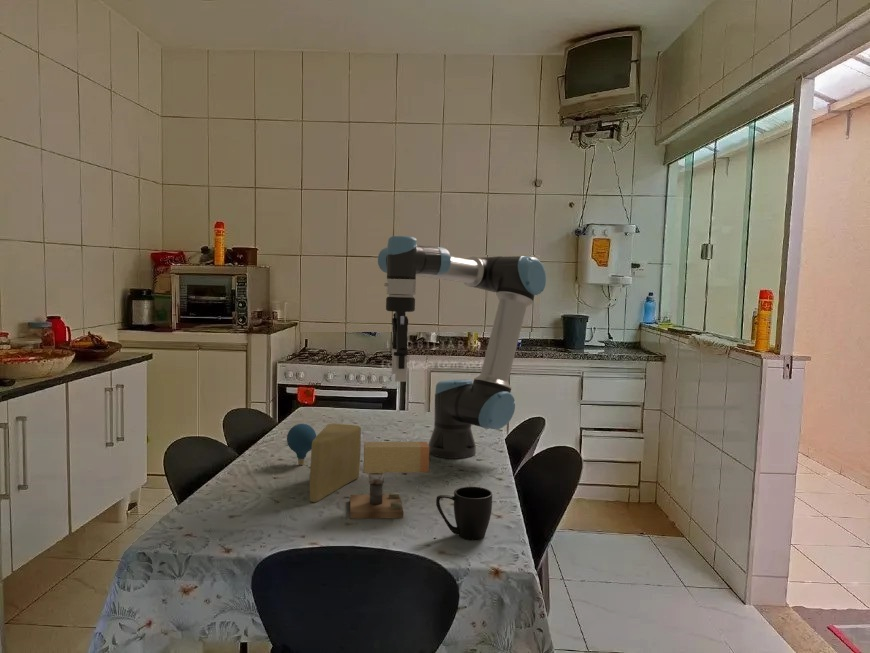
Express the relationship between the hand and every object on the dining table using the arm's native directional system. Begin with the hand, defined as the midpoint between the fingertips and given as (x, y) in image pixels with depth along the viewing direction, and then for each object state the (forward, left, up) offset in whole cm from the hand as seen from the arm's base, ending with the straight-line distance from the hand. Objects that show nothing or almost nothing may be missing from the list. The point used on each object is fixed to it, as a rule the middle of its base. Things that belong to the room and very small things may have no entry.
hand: (398, 377), depth 172 cm
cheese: (+17, +3, -29) cm, 34 cm away
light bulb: (+26, -19, -29) cm, 43 cm away
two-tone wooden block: (+2, +18, -22) cm, 29 cm away
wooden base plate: (+6, +18, -29) cm, 34 cm away
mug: (-12, +35, -29) cm, 47 cm away
